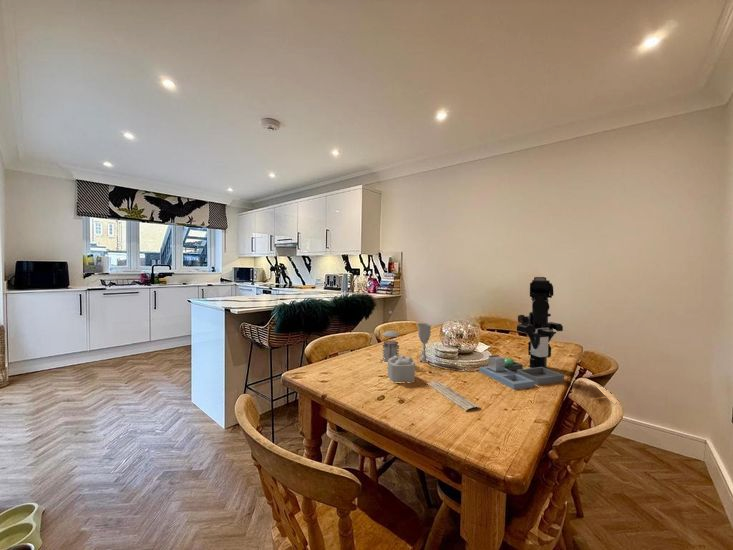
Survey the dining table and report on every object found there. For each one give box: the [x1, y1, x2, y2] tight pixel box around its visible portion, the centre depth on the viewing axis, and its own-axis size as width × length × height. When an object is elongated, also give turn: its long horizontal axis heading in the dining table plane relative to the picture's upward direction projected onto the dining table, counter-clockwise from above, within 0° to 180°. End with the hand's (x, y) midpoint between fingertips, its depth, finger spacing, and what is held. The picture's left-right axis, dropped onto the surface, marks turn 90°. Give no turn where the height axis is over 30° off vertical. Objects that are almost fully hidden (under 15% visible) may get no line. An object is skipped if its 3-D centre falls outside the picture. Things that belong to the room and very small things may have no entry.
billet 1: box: [488, 354, 506, 373], centre depth 130 cm, size 4×4×8 cm
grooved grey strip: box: [426, 380, 481, 412], centre depth 109 cm, size 24×7×2 cm, turn 20°
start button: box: [504, 357, 515, 365], centre depth 138 cm, size 4×4×3 cm
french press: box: [382, 310, 400, 362], centre depth 146 cm, size 10×12×25 cm
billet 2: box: [531, 334, 549, 358], centre depth 125 cm, size 4×4×8 cm
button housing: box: [505, 360, 524, 372], centre depth 138 cm, size 8×8×3 cm
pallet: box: [478, 365, 536, 390], centre depth 125 cm, size 10×20×2 cm, turn 17°
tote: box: [516, 367, 565, 386], centre depth 125 cm, size 14×11×3 cm
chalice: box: [417, 322, 432, 361], centre depth 149 cm, size 7×7×18 cm
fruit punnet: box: [387, 354, 416, 383], centre depth 127 cm, size 10×13×9 cm
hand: (539, 348), depth 125 cm, fingers closed on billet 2, 4 cm apart
